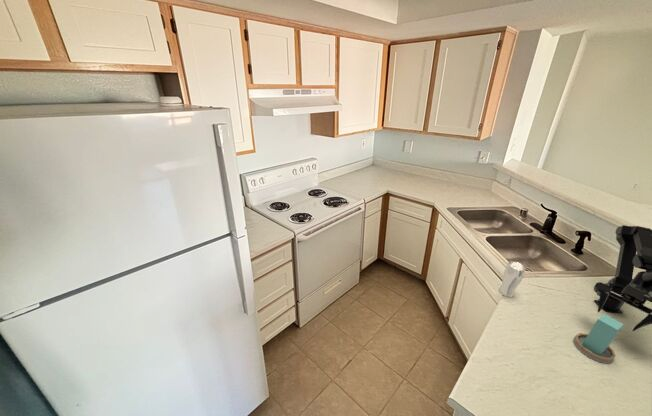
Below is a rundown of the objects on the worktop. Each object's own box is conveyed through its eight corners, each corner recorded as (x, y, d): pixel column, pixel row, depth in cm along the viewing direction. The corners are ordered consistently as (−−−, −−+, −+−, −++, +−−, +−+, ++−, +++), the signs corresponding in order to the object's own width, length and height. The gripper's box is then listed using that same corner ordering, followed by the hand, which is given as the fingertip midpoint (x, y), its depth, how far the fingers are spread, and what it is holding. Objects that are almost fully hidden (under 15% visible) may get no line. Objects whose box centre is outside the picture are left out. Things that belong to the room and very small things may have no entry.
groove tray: (595, 338, 98) (598, 334, 97) (621, 365, 89) (624, 361, 88) (565, 335, 99) (567, 331, 98) (588, 361, 89) (591, 357, 89)
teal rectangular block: (587, 339, 97) (604, 313, 91) (605, 350, 93) (623, 324, 87) (581, 345, 94) (597, 318, 89) (599, 356, 90) (617, 329, 85)
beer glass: (495, 292, 119) (505, 265, 113) (499, 285, 124) (509, 259, 118) (512, 300, 115) (524, 273, 109) (516, 292, 120) (528, 266, 113)
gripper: (608, 264, 96) (582, 297, 96) (688, 297, 81) (657, 336, 81) (606, 275, 103) (582, 305, 102) (680, 307, 88) (651, 343, 88)
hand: (614, 320), depth 93 cm, fingers open, 9 cm apart
